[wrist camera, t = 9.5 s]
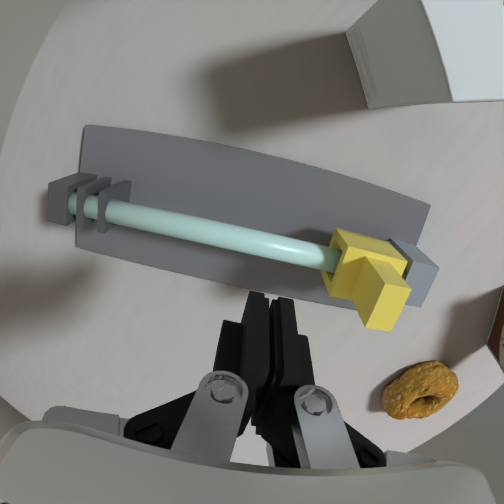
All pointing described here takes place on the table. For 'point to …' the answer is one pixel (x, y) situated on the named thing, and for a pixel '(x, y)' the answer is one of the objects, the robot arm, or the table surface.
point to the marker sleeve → (368, 278)
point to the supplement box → (430, 52)
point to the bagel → (420, 391)
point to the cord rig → (230, 213)
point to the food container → (497, 333)
